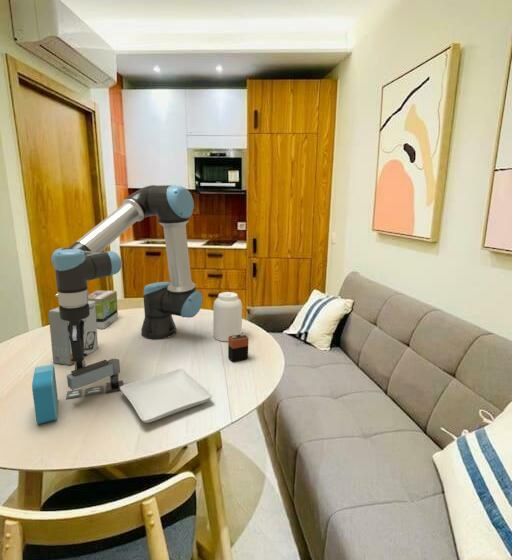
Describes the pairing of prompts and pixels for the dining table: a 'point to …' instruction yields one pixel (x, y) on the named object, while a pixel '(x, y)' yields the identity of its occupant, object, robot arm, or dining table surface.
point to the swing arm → (93, 373)
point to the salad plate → (164, 394)
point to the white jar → (227, 316)
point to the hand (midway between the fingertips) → (81, 378)
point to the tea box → (104, 307)
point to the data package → (45, 394)
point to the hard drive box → (61, 335)
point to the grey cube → (114, 384)
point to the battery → (238, 347)
